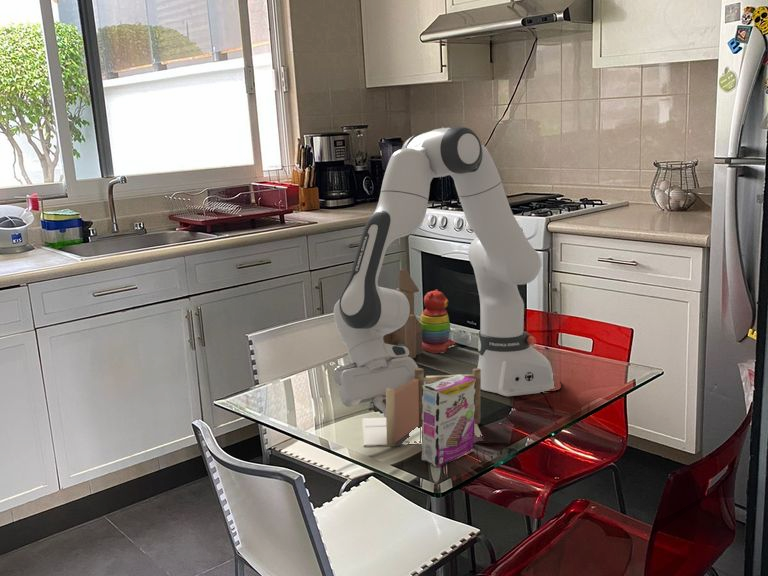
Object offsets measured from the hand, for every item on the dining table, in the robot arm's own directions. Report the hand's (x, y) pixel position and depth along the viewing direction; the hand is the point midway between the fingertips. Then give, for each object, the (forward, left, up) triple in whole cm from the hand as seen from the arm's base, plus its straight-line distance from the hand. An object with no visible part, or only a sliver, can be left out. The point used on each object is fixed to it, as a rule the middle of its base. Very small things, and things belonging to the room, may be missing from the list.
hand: (394, 414), depth 168 cm
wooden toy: (-6, -64, -5) cm, 64 cm away
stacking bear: (-17, -67, -5) cm, 69 cm away
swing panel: (-2, +1, -4) cm, 5 cm away
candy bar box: (-11, +11, -5) cm, 16 cm away
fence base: (-13, -6, -5) cm, 15 cm away
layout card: (-6, -3, -5) cm, 9 cm away
